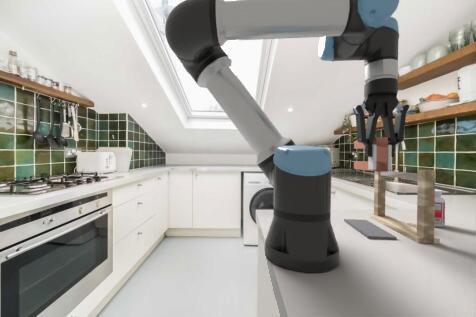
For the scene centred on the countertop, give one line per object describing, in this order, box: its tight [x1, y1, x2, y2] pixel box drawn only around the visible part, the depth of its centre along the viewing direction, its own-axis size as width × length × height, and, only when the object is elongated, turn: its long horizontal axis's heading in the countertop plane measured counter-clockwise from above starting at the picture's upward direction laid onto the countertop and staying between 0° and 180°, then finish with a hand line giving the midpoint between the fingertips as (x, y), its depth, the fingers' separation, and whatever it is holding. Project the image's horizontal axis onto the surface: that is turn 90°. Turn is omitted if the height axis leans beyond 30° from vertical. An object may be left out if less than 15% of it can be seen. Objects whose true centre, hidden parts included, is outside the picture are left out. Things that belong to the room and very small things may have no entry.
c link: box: [353, 136, 389, 172], centre depth 65 cm, size 13×3×9 cm, turn 175°
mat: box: [343, 218, 397, 241], centre depth 65 cm, size 7×16×1 cm, turn 175°
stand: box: [369, 169, 441, 245], centre depth 66 cm, size 5×23×18 cm, turn 175°
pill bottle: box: [434, 189, 446, 228], centre depth 70 cm, size 6×6×11 cm
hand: (379, 169), depth 59 cm, fingers closed on c link, 3 cm apart
